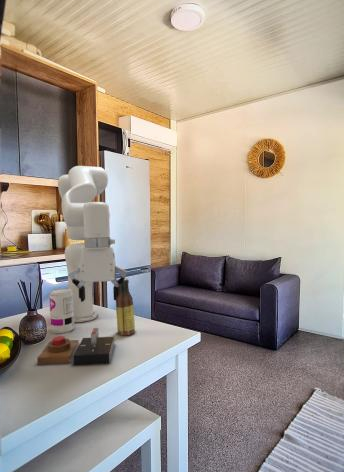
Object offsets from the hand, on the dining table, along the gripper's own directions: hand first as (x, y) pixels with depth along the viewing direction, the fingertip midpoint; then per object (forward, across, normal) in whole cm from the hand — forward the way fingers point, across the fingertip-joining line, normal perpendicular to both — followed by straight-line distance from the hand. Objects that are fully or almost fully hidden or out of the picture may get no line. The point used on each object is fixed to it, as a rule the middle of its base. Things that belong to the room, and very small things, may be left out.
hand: (99, 299), depth 93 cm
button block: (+17, +13, -1) cm, 21 cm away
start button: (+13, +13, -1) cm, 18 cm away
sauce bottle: (+17, -6, -17) cm, 25 cm away
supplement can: (+17, +18, -23) cm, 34 cm away
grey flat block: (+14, +2, 0) cm, 14 cm away
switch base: (+17, +2, 0) cm, 17 cm away
